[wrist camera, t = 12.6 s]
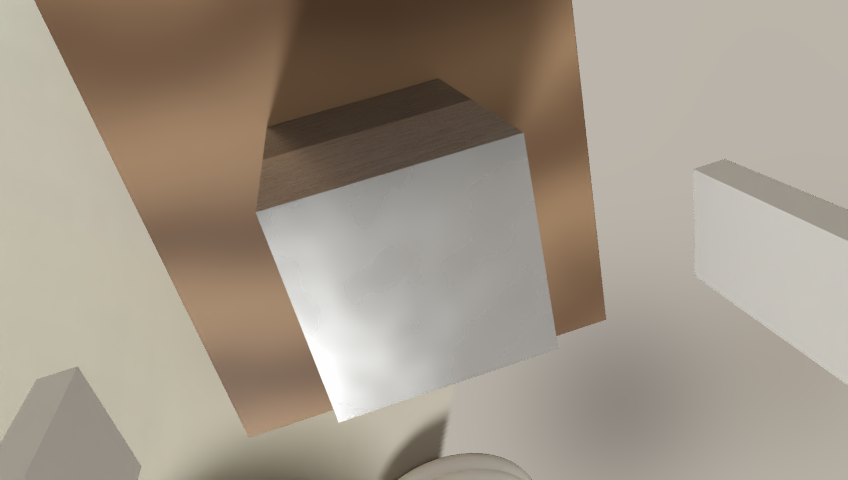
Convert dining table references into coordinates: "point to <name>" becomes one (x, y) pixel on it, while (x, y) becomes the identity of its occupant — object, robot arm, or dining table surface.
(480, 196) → the block
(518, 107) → the cutting board
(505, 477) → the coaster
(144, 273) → the dining table surface
